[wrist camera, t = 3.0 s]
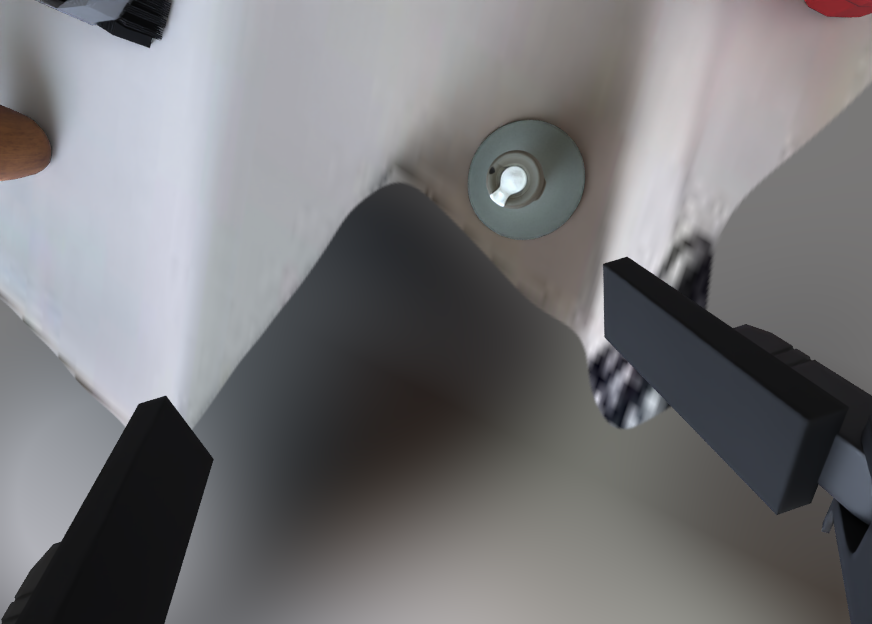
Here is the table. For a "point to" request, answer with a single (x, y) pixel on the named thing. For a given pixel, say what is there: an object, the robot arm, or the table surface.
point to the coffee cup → (526, 179)
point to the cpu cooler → (118, 16)
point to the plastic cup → (841, 7)
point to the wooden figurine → (21, 145)
